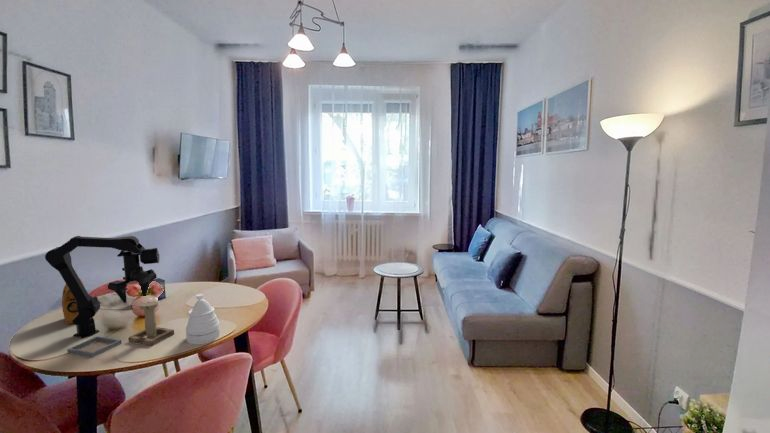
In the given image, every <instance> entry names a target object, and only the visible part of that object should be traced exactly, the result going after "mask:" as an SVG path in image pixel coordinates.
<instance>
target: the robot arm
mask: <svg viewBox="0 0 770 433" xmlns="http://www.w3.org/2000/svg"><path fill="white" fill-rule="evenodd" d="M139 240H140V239H138V238H137V237H136V236H134V235H127V236H119V237H98V236H97V237H95V236H81V235H75V236H74V237H71V238H70V239H69V240H68V241H66V242H64V243H63V244H62V245H60V246H56V247H55V248H52V249H50V250H48V251H47V252H46V253H45V255H44V258H45V260H46V262H47V263H48V264H49V265H50V266H51V267H52V268H54V269H55V270H56V271H58V273H59V274H60V276H61V277H62V279H63V281H64V283H65V285H66V284H67V286H68V288H69V289H70V291H71V293H72V294H73V296H74V298H75V299H76V304H77V310H78V313H79V314H78V315H77V316H76V317H75V318H74V319H73V323H72V324H74V325H75V326H76V333H73V337H76V338H81V339H84V338H88V337H89V336H90V337H91V336H93V335H94V334H96V333H100V330H99V329H96V323H95V319H94V316H96V314H97V313H98V312H99V311H100V309H101V303H102V302H100V300H99V299H98V296H97V295H94V296H92V295H90V294H89V292H88V291H87V289H86V288H85V285H84V286H83V284H84V283H83V284H82V282H83V281H82V279H81V278H80V277H79V276H78V274H77V271H76V270H75V269H74V267H73V264H72V257H71V252H73V251H74V250H76V249H77V248H78V247H80V248H81V247H82V248H83V247H87V248H109V249H115V250H117V251H120V252H119V253H118V254H117V255H116V256H117V257H118V258H119V257H121V258H122V259H123V261H122V262H123V267H122V268H121V270H122V271H124V276H123V277H122V280H115V281H111V282H109V283H108V284H107V290H109V291H113V292H115V293H116V295H117V296H118V297H119V298H120V300H121V301H122V303H124V304H127V290H128V288H127V287H128V285H130V284H133V283H138V284H139V283H140V286H141V290H142V294H143V296H146V293H147V290H148V287H149V284H150V283H151V282H152V281H154V279H157V278H158V277H157V274H156V272H155V270H153V269H148V270H144V268H143V266H142V265H141V264H143V265H149V264H150V265H151V264H159V263H160V253H159V250H158V247H154V248H145V247H144V246H143V245H142V244H141V243H140V241H139ZM79 278H80V279H81V280H80V279H79ZM81 281H82V282H81Z"/></svg>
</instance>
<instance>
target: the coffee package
mask: <svg viewBox="0 0 770 433" xmlns="http://www.w3.org/2000/svg"><path fill="white" fill-rule="evenodd" d="M79 279H80V280H81V282H82V284H83V286H84V287H85V285H84V282H83V281H82V279H81V278H80V277H79ZM61 308H62V313H63V314H62V315H63V317H64V322H65V324H67V325H71V324H72V325H73V324H74V323H73V319H74V318H75V317H76V316H77V315H78V314H79V313H78V310H77V304H76V299H75V298H74V296H73V294H72V293H71V291H70V289H69V288H68V286H67V284H66V283H65V285H64V286H63V290H62V296H61Z"/></svg>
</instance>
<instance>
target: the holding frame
mask: <svg viewBox="0 0 770 433" xmlns="http://www.w3.org/2000/svg"><path fill="white" fill-rule="evenodd" d="M98 341H99V342H104V343H105V342H106V343H110V344H107V345H105V346H103V347H101V348H99V349H96V350H95V351H92V352H91V351H87V350H86V351H85V350H81V349H82V348H84V347H86V346H88V345H91V344H93V343H95V342H98ZM121 344H122V339H118V338H112V337H108V336H106V337H105V336H100V335H97V336H94V337H93V338H90V339H88V340H85V341H83V342H81V343H78V344H75V345H74V346H72V347H69V348H66V350H67V354H73V355H77V356H82V357H87V358H94V357H96V356H98V355H100V354H103V353H105V352H106V351H109V350H111V349H113V348H115V347H118V346H119V345H121Z"/></svg>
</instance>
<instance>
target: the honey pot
mask: <svg viewBox="0 0 770 433" xmlns="http://www.w3.org/2000/svg"><path fill="white" fill-rule="evenodd" d="M203 296H204V294H202V293H200V294H199V293H198V294H196V295H195V297H196V299H197V301H196V302H195V304H194V306H193V307H192V308H191V309H190V310H188V312H187V315H188V316H189V318H188V320H187V325H186V327H185V334H186V335H185V336H186V339H185V340H186V342H187V343H189V344H191V345H203V344H207V343H211V342H213V341H215V340H218V338H219V337H220V336H221V326H220V321H219V319H218V317H217V314H216V313H215V307H214V306H211V304H210V302H208V301H207V300H206V299H204V298H203Z"/></svg>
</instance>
